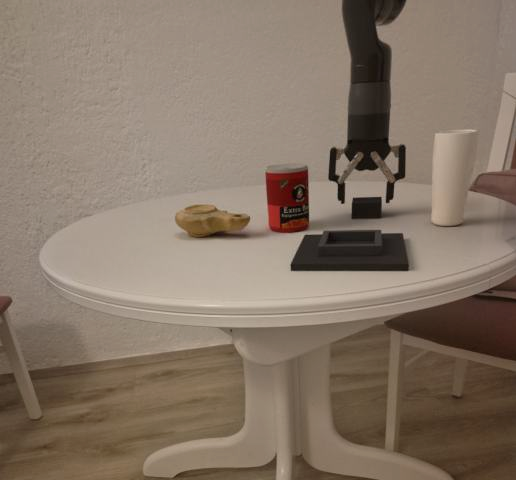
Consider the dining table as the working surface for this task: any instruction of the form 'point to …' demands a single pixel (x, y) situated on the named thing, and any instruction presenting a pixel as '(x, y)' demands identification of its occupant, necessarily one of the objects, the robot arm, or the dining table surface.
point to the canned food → (287, 197)
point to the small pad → (366, 207)
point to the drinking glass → (452, 174)
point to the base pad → (351, 251)
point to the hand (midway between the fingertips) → (365, 202)
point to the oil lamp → (209, 220)
